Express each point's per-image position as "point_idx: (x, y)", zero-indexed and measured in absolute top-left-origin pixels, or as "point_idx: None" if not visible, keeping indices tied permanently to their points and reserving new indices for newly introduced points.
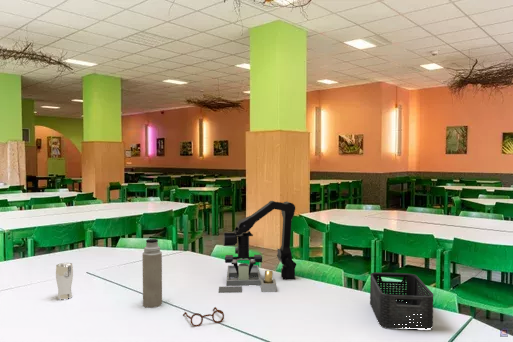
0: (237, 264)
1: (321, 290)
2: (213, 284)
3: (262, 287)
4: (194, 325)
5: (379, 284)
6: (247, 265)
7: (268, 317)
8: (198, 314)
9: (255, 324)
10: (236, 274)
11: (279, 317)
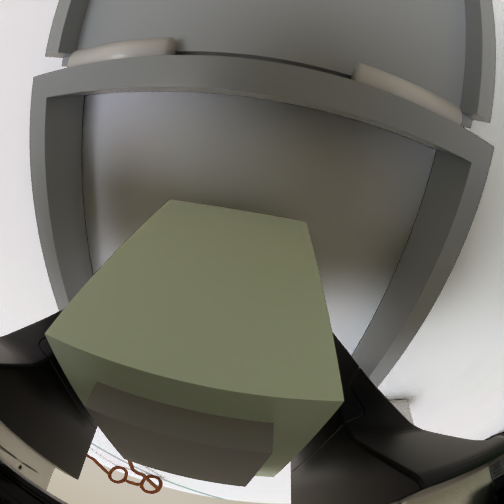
0: (64, 427)
1: (497, 404)
2: (21, 276)
3: None
4: (117, 468)
5: (501, 463)
6: (271, 457)
7: (256, 491)
8: (117, 482)
9: (224, 492)
10: (144, 88)
11: (279, 492)
